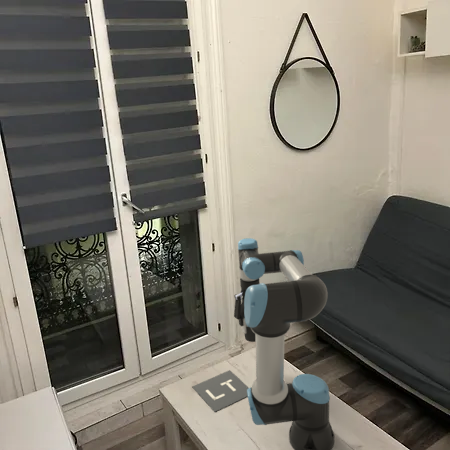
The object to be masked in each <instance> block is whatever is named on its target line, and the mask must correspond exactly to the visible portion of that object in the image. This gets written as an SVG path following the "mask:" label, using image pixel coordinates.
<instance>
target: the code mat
mask: <svg viewBox="0 0 450 450" xmlns="http://www.w3.org/2000/svg"><path fill="white" fill-rule="evenodd" d="M248 388H250V387H249V386H248V385H246V384H245V383H244V382H243V381H242V380H241V379H240V378H239V377H238V376H237V375H236V374H235V373H233V372H232V371H231V370H230V369H229V370H227V371H224V372H222V373H220V374H218V375H215V376H213V377H211V378H208V379H206V380H204V381H202V382H199V383H197V384H194V385H193V386H192V389H193V391H195V392H196V393H197V395H198V396H199V397H200V398H201V399H202V400H203V401H204V402H205V403H206V404H207V405H208V406H209V408H211V410H212V411H213V412H214V413H216V412H218V411H220V410H222V409H225V408H227V407H229V406H231V405H233V404H235V403H237V402H240V401H241V400H244V399H246V398H248V395H247V389H248Z"/></svg>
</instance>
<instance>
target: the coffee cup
mask: <svg viewBox="0 0 450 450" xmlns="http://www.w3.org/2000/svg"><path fill="white" fill-rule="evenodd" d="M244 318H245V316H244ZM244 338H245V341H247V342H250V343H256V335H255V333H254V332H253V331H252V329H251V327H248V326H247V325H246V333H244Z"/></svg>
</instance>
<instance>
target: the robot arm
mask: <svg viewBox="0 0 450 450" xmlns="http://www.w3.org/2000/svg"><path fill="white" fill-rule="evenodd" d="M237 250H238V251H237V252H238V263H239V278H240V279H239V282H240V283H239V284H240V292H239V293H238V294H234V295H233V296H234V312H233V313H234V314H233V318H235V319H237V320H238V326H240V331H241V332H242V333H246V325H247V326H248V327H251V329H252V331H253V332H254V333H255V335H256V342H255V380H254V381H253V383H252V385H251V387H249V388H248V389H247V395H248V397H247V399H248V405H249V411H250V416H251V419H252V422H253V424H254V425H255V426H256V425H257V426H261V425H262V426H267V425H273V424H282V423H288V422H289V423H291V425H290V428H289V431H288V440H289V443H290V445H291V447H292V448H293V449H294V450H332V449H333V447H334V445H335V434H334V430H333V428H332V425H331V423H330V397H331V396H330V388H329V386H328V384H327V383H326V381H325V380H323V379H322V378H321V377H319V376H317V375H315V374H310V373H302V374H298V375H297V376H295V377H294V378H293V380H292V383H287V382H286V380H285V379H284V376H285V375H284V373H285V335H286V334H287V333H288V332H289V330H290V329H291V324H292V323H301V322H307V321H310V320H312V319H314V318H316V317H317V316H318V315H319V314H320V313H321V312H322V311H323V310H324V308H325V306H326V304H327V301H328V295H329V293H328V288H327V286H326V283H324V281H323V280H322V279H321V278H320V277H318V276H317V275H315V274H312V273H311V272H310V270H308V268H306V265H304V264H305V261H304V256H303V252H302V251H301V250H298V249H296V250H295V249H291V250H290V249H289V250H283V251H273V252H264V253H259V245H258V240H256V239H255V238H250V237H249V238H242V239H240V240H239V241H238V242H237ZM276 273H282V275H283V277H284V278H285V279H286V281H279V282H269V283H264V282H260V278H262V277H263V276H264V275H268V274H276ZM244 316H245V318H244Z"/></svg>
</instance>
